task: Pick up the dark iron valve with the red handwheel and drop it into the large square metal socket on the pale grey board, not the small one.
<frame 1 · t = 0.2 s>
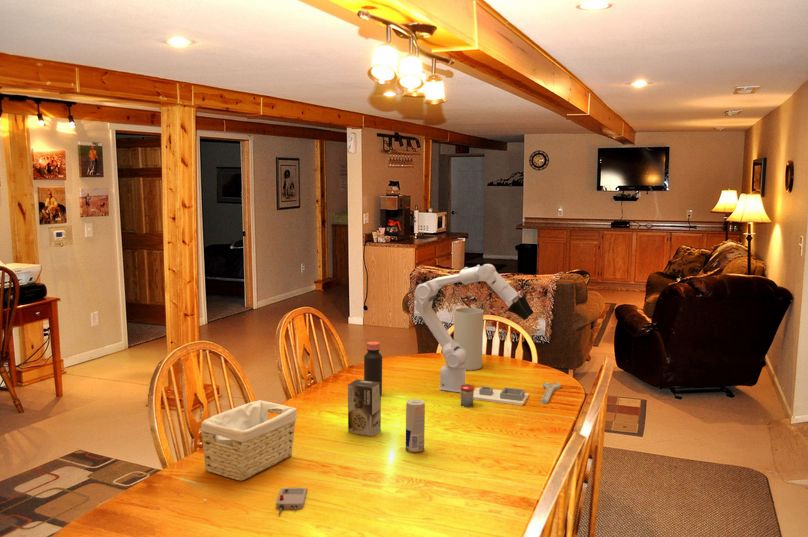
hand: (529, 316, 254), 31 cm above the table, tool tilted 45°, fingers open, 7 cm apart
socket board: (499, 397, 258), on the table
bottle: (372, 395, 259), on the table
cylinder vase: (467, 367, 300), on the table
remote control: (291, 503, 173), on the table
adjustable wrench: (547, 395, 264), on the table
beverage can: (414, 450, 207), on the table
storage basket: (251, 464, 196), on the table
coffee box: (364, 432, 222), on the table
valve: (466, 405, 249), on the table
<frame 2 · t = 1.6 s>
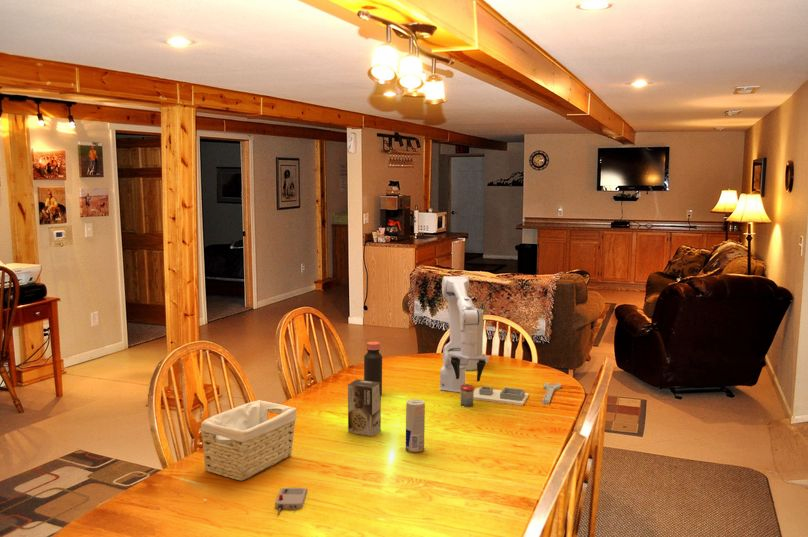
hand: (468, 379, 248), 10 cm above the table, tool pointing down, fingers open, 7 cm apart
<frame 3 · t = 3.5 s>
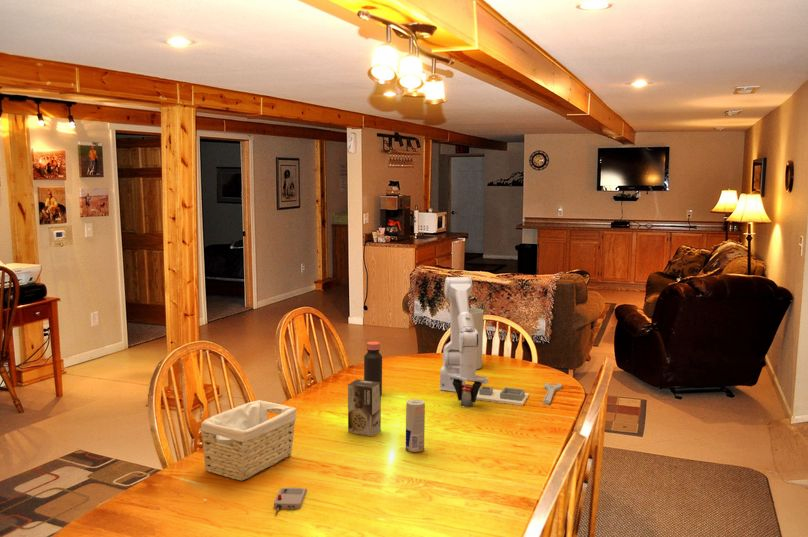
hand: (467, 400, 249), 2 cm above the table, tool pointing down, fingers closed on valve, 5 cm apart
valve: (466, 405, 249), on the table, touching gripper
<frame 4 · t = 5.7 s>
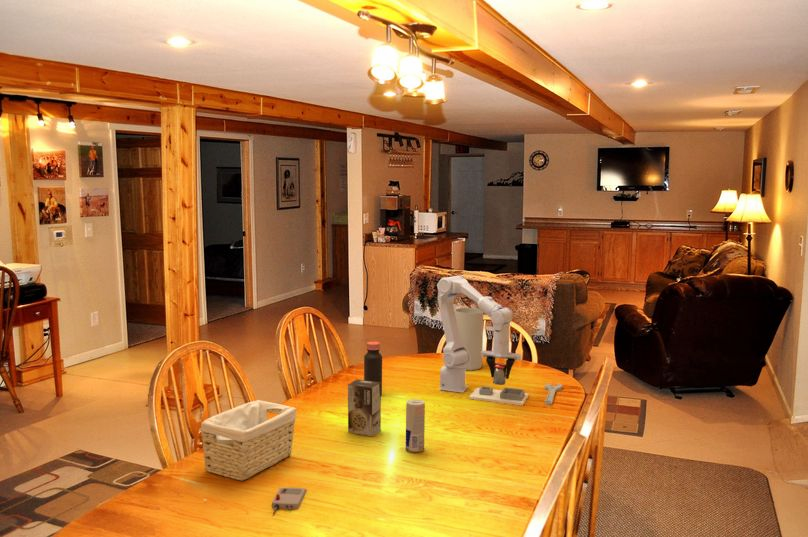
hand: (500, 377, 253), 9 cm above the table, tool pointing down, fingers closed on valve, 5 cm apart
valve: (499, 383, 253), point 7 cm above the table, touching gripper
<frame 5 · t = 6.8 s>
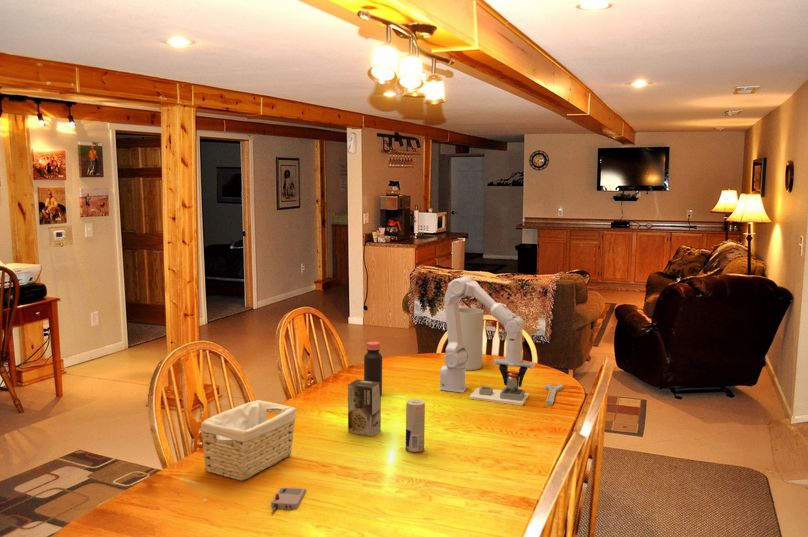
hand: (512, 385, 256), 5 cm above the table, tool pointing down, fingers closed on valve, 5 cm apart
valve: (511, 391, 255), point 3 cm above the table, touching gripper
when the fingers open (4 cm above the table, at t = 7.9 s): valve stays where it is, resting on socket board.
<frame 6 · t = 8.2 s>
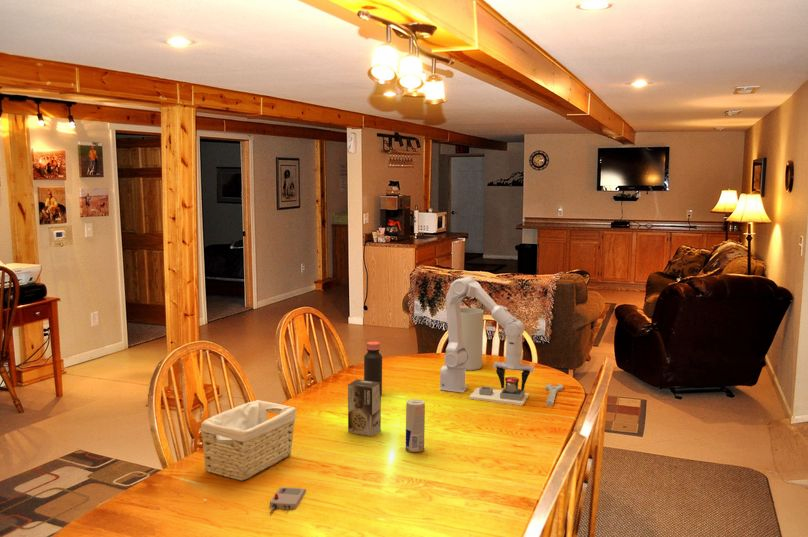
hand: (512, 388, 256), 4 cm above the table, tool pointing down, fingers open, 7 cm apart
valve: (511, 397, 256), point 1 cm above the table, touching socket board
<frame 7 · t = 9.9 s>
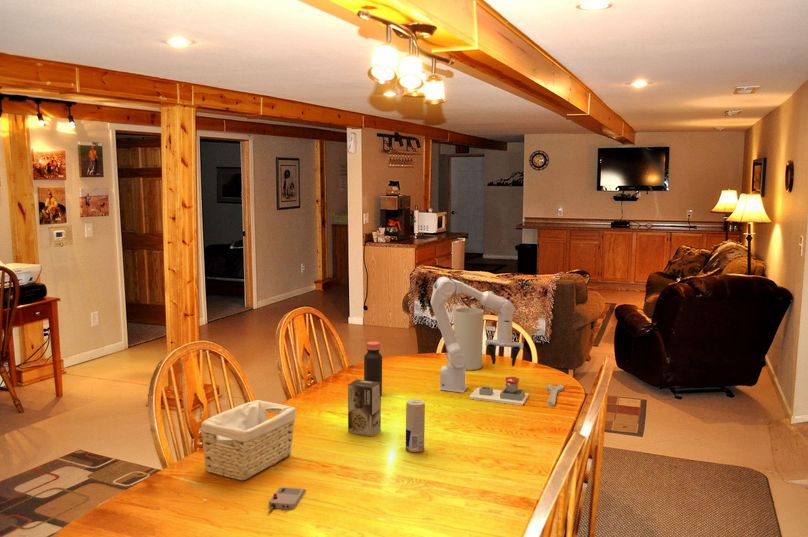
hand: (503, 364, 269), 9 cm above the table, tool pointing down, fingers open, 7 cm apart
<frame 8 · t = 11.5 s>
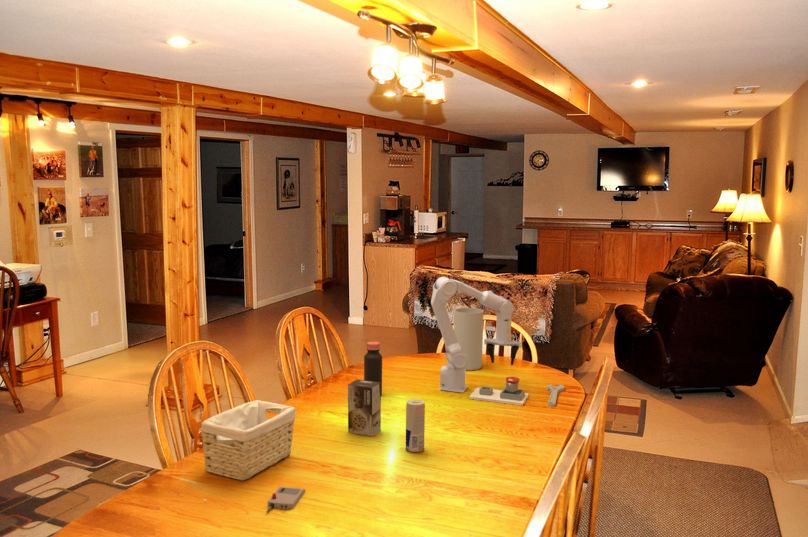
hand: (502, 363, 271), 9 cm above the table, tool pointing down, fingers open, 7 cm apart
at the end: valve 0.6 cm from the target spot on the socket board, point 1.1 cm above the socket board's base; valve tilted 2°; the gripper is holding nothing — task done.
